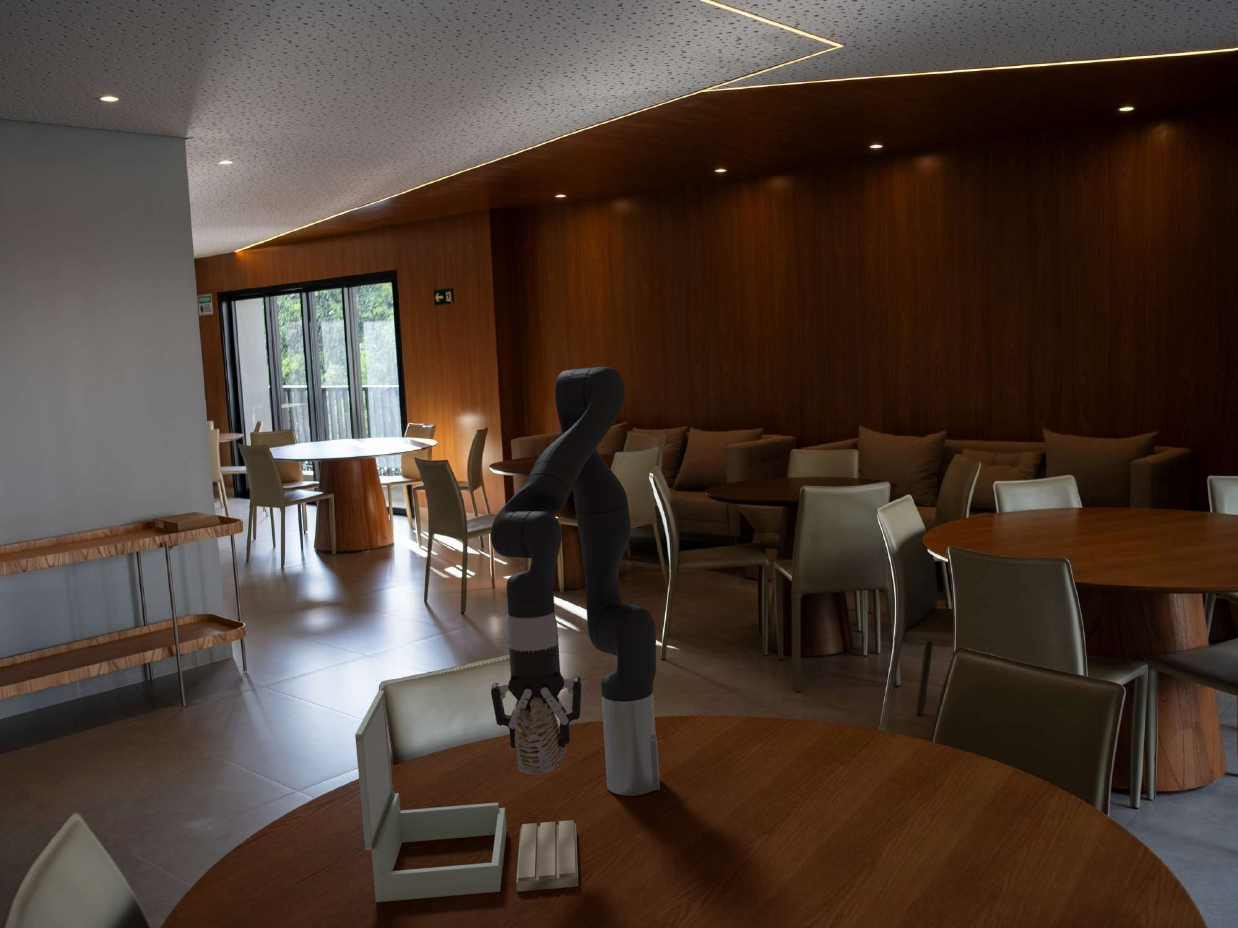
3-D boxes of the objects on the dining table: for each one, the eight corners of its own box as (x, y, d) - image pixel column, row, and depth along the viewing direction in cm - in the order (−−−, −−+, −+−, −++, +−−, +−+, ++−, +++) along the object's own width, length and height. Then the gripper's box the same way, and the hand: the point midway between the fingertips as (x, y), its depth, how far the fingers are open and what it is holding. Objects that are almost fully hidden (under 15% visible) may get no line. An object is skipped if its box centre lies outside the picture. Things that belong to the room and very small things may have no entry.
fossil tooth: (574, 754, 160) (546, 786, 146) (536, 750, 162) (505, 781, 147) (576, 683, 160) (548, 707, 145) (538, 680, 161) (507, 703, 147)
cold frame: (506, 830, 166) (495, 681, 163) (500, 891, 147) (487, 723, 144) (391, 840, 165) (378, 690, 162) (370, 902, 146) (355, 734, 143)
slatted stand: (576, 831, 164) (575, 819, 164) (578, 886, 147) (577, 872, 147) (521, 836, 163) (520, 824, 163) (517, 891, 146) (516, 877, 146)
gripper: (580, 631, 156) (586, 735, 157) (487, 638, 155) (494, 742, 157) (581, 645, 148) (588, 753, 150) (483, 652, 147) (491, 761, 149)
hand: (540, 747), depth 153 cm, fingers closed on fossil tooth, 6 cm apart
